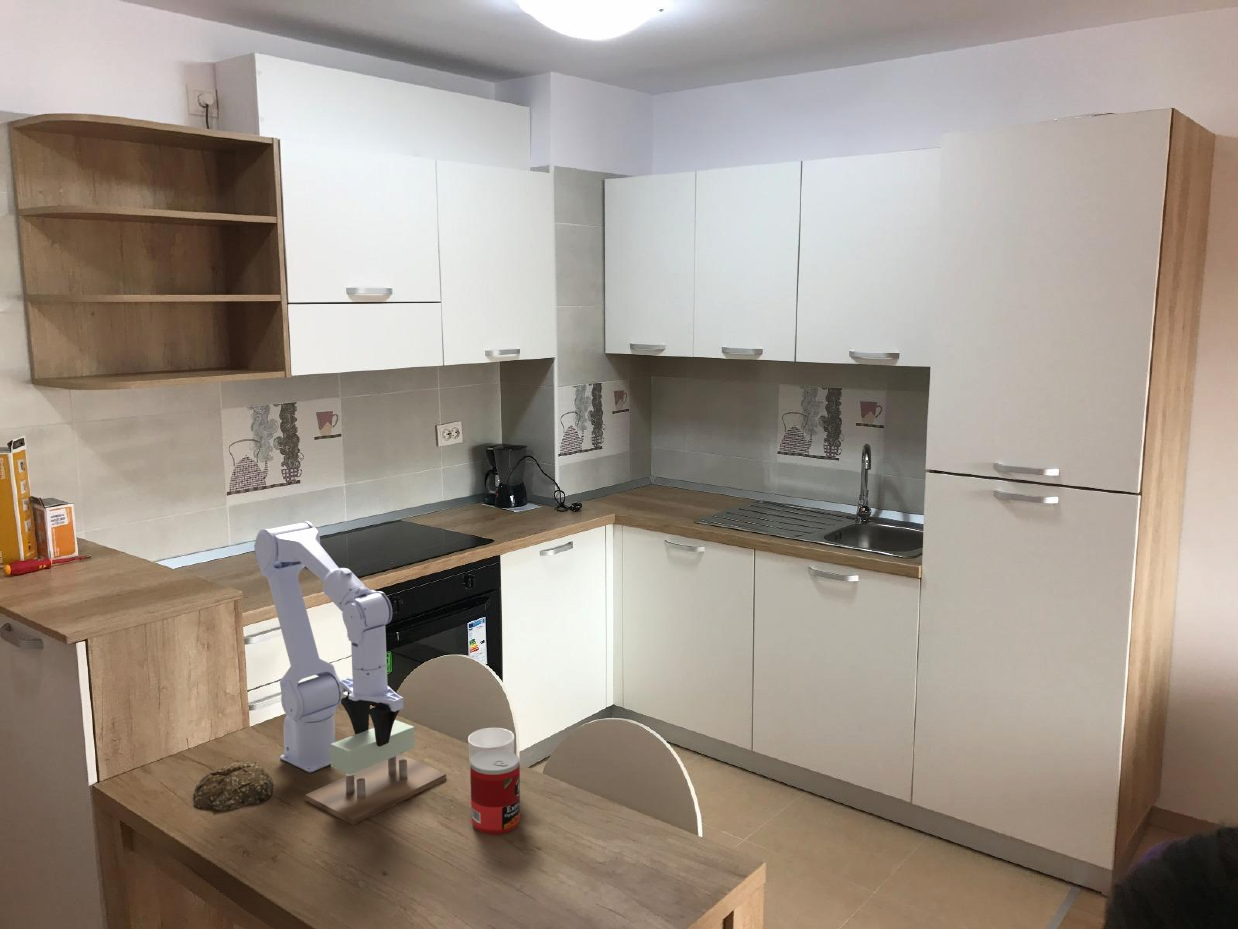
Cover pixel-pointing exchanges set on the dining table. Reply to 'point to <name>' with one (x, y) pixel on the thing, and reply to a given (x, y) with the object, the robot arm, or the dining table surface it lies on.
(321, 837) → the dining table surface
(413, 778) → the peg base
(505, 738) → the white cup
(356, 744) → the pale green rectangular block
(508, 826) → the canned food
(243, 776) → the bread roll
